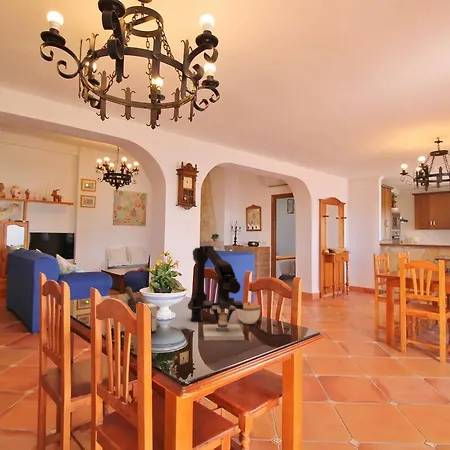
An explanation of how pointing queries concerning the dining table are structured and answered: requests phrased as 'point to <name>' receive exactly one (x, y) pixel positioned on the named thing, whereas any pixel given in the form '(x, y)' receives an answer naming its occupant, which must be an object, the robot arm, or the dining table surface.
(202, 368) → the dining table surface
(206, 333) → the socket block
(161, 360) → the dining table surface
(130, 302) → the mortar and pestle
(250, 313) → the lidded bowl
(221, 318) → the maple spool
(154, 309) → the supplement box
